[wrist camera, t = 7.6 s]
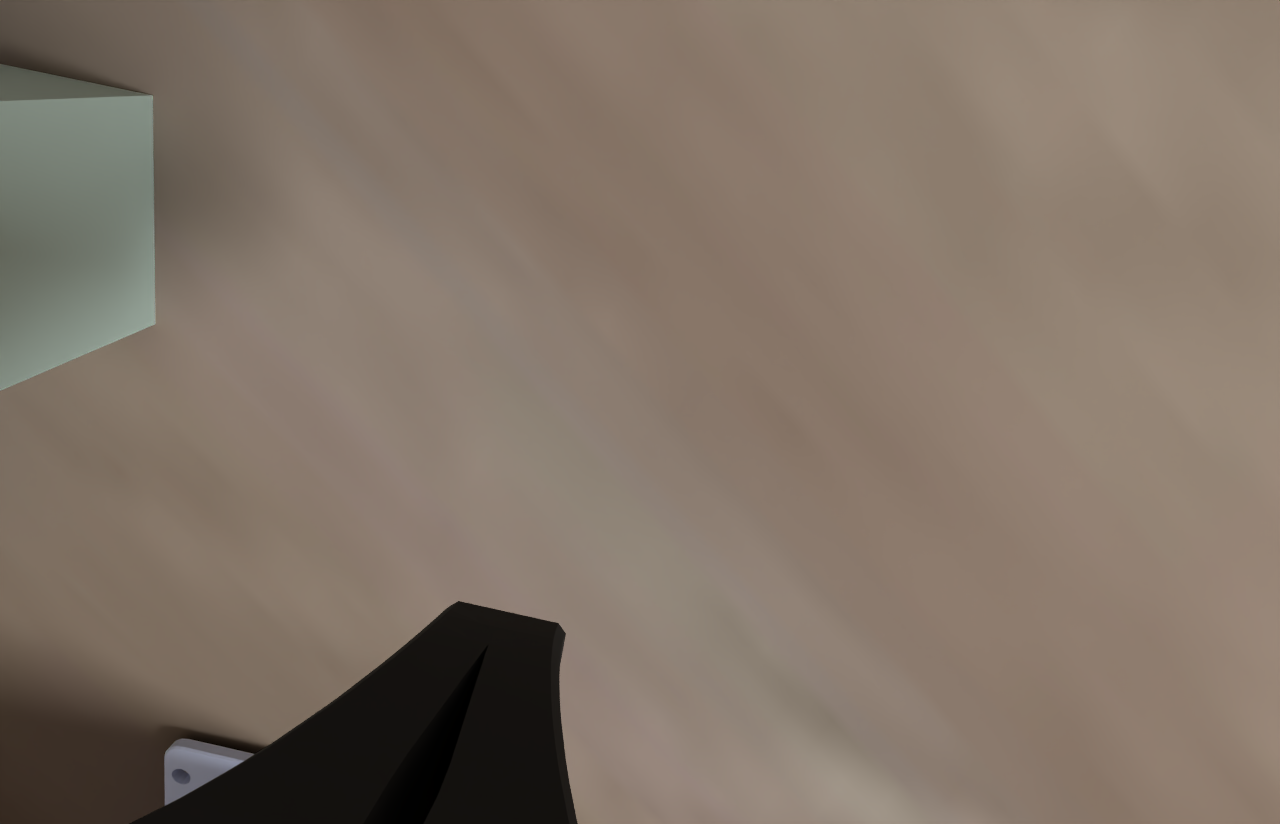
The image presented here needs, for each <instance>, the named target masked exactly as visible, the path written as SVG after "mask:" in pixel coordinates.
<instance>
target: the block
mask: <svg viewBox="0 0 1280 824" xmlns="http://www.w3.org/2000/svg"><path fill="white" fill-rule="evenodd" d="M154 324H155V250H154V159H153V95H149V94H144V93H139V92H134V91H129V90H125V89H120V88H115V87H110V86H105V85H100V84H96V83H91V82H86V81H81V80H76V79H71V78H66V77H62V76H57V75H52V74H47V73H42V72H37V71H32V70H28V69H23V68H18V67H13V66H8V65H3V64H0V391H1V390H3V389H5V388H8V387H10V386H12V385H15V384H17V383H19V382H22V381H24V380H26V379H29V378H31V377H33V376H36V375H38V374H40V373H43V372H45V371H47V370H50V369H52V368H54V367H57V366H59V365H61V364H64V363H66V362H68V361H71V360H73V359H75V358H78V357H80V356H82V355H85V354H87V353H89V352H92V351H94V350H96V349H99V348H101V347H103V346H106V345H108V344H110V343H113V342H115V341H117V340H120V339H122V338H124V337H127V336H129V335H131V334H134V333H136V332H138V331H141V330H143V329H145V328H148V327H150V326H152V325H154Z"/></svg>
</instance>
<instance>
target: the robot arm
mask: <svg viewBox="0 0 1280 824" xmlns="http://www.w3.org/2000/svg"><path fill="white" fill-rule="evenodd" d="M565 635H566V633H565V632H564V631H563V629H562V628H561V626H560V625H559V623H555V622H550V621H546V620H541V619H537V618H532V617H528V616H523V615H519V614H514V613H510V612H505V611H501V610H496V609H491V608H487V607H482V606H478V605H473V604H469V603H464V602H460V601H458V602H456V603H455V604H453V605H451V606H450V607H448V608H447V609H446V610H445V611H443V612H442V613H441V614H440V615H439V616H438V617H437V618H436V619H434V620H433V621H432V622H431V623H430V624H429V625H428V626H427V627H425V628H424V629H423V630H422V631H421V632H420V633H418V634H417V635H416V636H415V637H414V638H413V639H411V640H410V641H409V642H408V643H407V644H405V645H404V646H403V647H402V648H401V649H399V650H398V651H397V652H396V653H395V654H393V655H392V656H391V657H390V658H388V659H387V660H386V661H385V662H384V663H382V664H381V665H380V666H378V667H377V668H376V669H374V670H373V671H372V672H371V673H369V674H368V675H367V676H365V677H364V678H363V679H362V680H360V681H359V682H358V683H356V684H355V685H354V686H352V687H351V688H350V689H349V690H347V691H346V692H345V693H343V694H342V695H341V696H339V697H338V698H337V699H335V700H334V701H333V702H331V703H330V704H328V705H327V706H326V707H324V708H323V709H321V710H320V711H318V712H317V713H315V714H314V715H312V716H311V717H310V718H308V719H307V720H305V721H304V722H302V723H301V724H299V725H298V726H296V727H295V728H294V729H292V730H291V731H289V732H288V733H286V734H285V735H283V736H282V737H280V738H279V739H278V740H276V741H275V742H273V743H272V744H270V745H268V746H267V747H265V748H264V749H262V750H261V751H259V752H257V753H256V754H253V753H248V752H244V751H240V750H235V749H231V748H226V747H222V746H218V745H213V744H209V743H205V742H200V741H196V740H191V739H178V740H176V741H175V742H174V743H173V744H172V745H171V746H170V747H169V748H168V750H167V751H166V752H165V756H164V784H165V806H163V807H162V808H160V809H158V810H156V811H154V812H152V813H150V814H148V815H146V816H144V817H142V818H140V819H138V820H136V821H134V822H132V823H130V824H577V819H576V815H575V809H574V804H573V799H572V794H571V789H570V784H569V778H568V772H567V765H566V759H565V750H564V742H563V733H562V724H561V713H560V693H559V671H560V662H561V657H562V651H563V646H564V641H565ZM185 771H186V772H185Z"/></svg>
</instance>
